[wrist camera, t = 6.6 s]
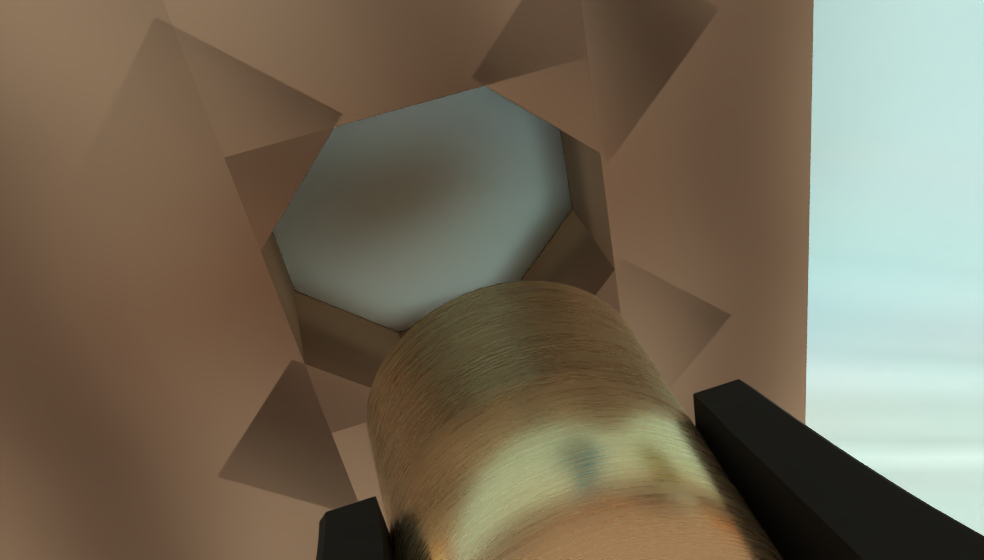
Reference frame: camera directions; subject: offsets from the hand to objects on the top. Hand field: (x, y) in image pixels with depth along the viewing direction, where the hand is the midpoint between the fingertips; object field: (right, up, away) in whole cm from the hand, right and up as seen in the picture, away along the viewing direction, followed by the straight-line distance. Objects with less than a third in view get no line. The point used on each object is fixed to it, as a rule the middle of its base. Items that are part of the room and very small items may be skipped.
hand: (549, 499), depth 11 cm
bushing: (-1, +1, +2) cm, 2 cm away
